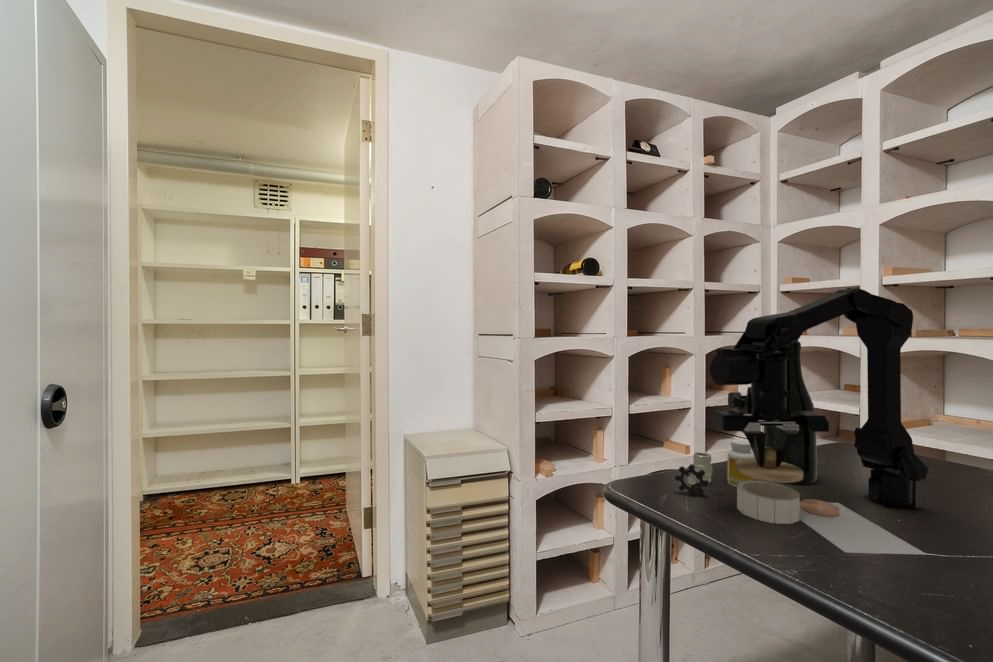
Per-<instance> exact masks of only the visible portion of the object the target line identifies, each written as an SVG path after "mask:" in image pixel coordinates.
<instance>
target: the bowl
mask: <svg viewBox="0 0 993 662" xmlns="http://www.w3.org/2000/svg"><path fill="white" fill-rule="evenodd" d="M736 491H737V492H736V495H737V496H736V509H737V510H738V511H739V512H740V513H741V514H743V515H744V516H747V517H748V518H751V519H754V520H756V521H762V522H765V523H771V524H778V525H779V524H780V525H782V524H783V525H791V524H795V523H797V522H800V520H799V502H801V501H800V499H801V498H800V496H801V495H800V492H798V491H796V490H795V489H793V488H792V487H789V486H787V485H783V484H779V483H778V482H769V481H763V480H755V481H744V482H740V483H738V486H737V487H736Z"/></svg>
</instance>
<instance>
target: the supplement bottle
mask: <svg viewBox="0 0 993 662" xmlns="http://www.w3.org/2000/svg"><path fill="white" fill-rule="evenodd" d="M730 447H731V449H729V450H728V452H727V473H726V474H727V484H728V485H730V486H732V487H736V488H737V486H738V483H740V482H744V481H756V479H754V478H751V477H748V476H745V475H743V474H741V473H739V472H738V471H736V469H735V463H736V461H738V460H741V459H749V458H755V456H754V453H753V451H752V448H751V446H750V443H749V441H748V440H743V439H733V440H731V443H730Z"/></svg>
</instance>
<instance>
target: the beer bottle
mask: <svg viewBox="0 0 993 662" xmlns="http://www.w3.org/2000/svg"><path fill="white" fill-rule="evenodd" d="M787 347H788V348H789V350H790V351H791V352H792V353H794V354H795V355H796V356H797V359H796V360H786V390H787V391H790V397H786V413H789V414H790V413H791V411H812V412H815V411H816V410H815V407H814V402H813V400H812V397H811V395H810V393H809V391H808V388H807V386H806V384H805V380H804V378H803V371H802V362H801V361H802V357H801V353H802V352H801V351H802V344H801V342H800V341H799V339H798V340H796V341H795V342H793V343H792V344H790V345H788V346H787ZM815 413H816V412H815ZM764 421H765V420H764ZM773 421H774V420H773ZM775 421H776V420H775ZM799 431H800V432H802V433H804V435H803V436H799V437H798V438H797V440H796V441H795V442H794V444H793V445H792V446H791V448H790V449H789V451H788V452H787V454H786V456H785V457H784V459H783V461H782V462H785V463H788V464H791V465H794V466H797V467H799V468H800V469H802V470H803V480H801V481H798V482H792V483H787V484H789V485H799V486H804V485H805V486H809V485H812V484H814V483H816V482H817V477H818V476H817V475H818V466H817V465H818V464H817V463H818V462H817V461H818V459H817V457H818V455H817V454H818V453H817V446H818V445H817V432H813V431H811V430H810V429H809V428H808V427H807V426H799ZM763 432H764V433H766V435H765V447H771V448H774V434H773V431H772V428H771V426H763Z"/></svg>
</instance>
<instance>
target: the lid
mask: <svg viewBox="0 0 993 662" xmlns="http://www.w3.org/2000/svg"><path fill="white" fill-rule="evenodd" d="M735 469H736V471H738V472H739V473H741V474H743V475H745V476H748V477H751V478H754V479H755V480H757V481H765V482H771V483H778V484H779V483H785V484H788V483H792V482H798V481H801V480H803V470H802V469H800V468H799V467H797V466H794V465H791V464H788V463H785V462H782V463H781V464H780V466H779V467H776V449H775V448H771V447H765V453H764V463H763V467H760V466H758V464H757V461H756V459H755V458H749V459H741V460H738V461H736V463H735Z"/></svg>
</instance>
